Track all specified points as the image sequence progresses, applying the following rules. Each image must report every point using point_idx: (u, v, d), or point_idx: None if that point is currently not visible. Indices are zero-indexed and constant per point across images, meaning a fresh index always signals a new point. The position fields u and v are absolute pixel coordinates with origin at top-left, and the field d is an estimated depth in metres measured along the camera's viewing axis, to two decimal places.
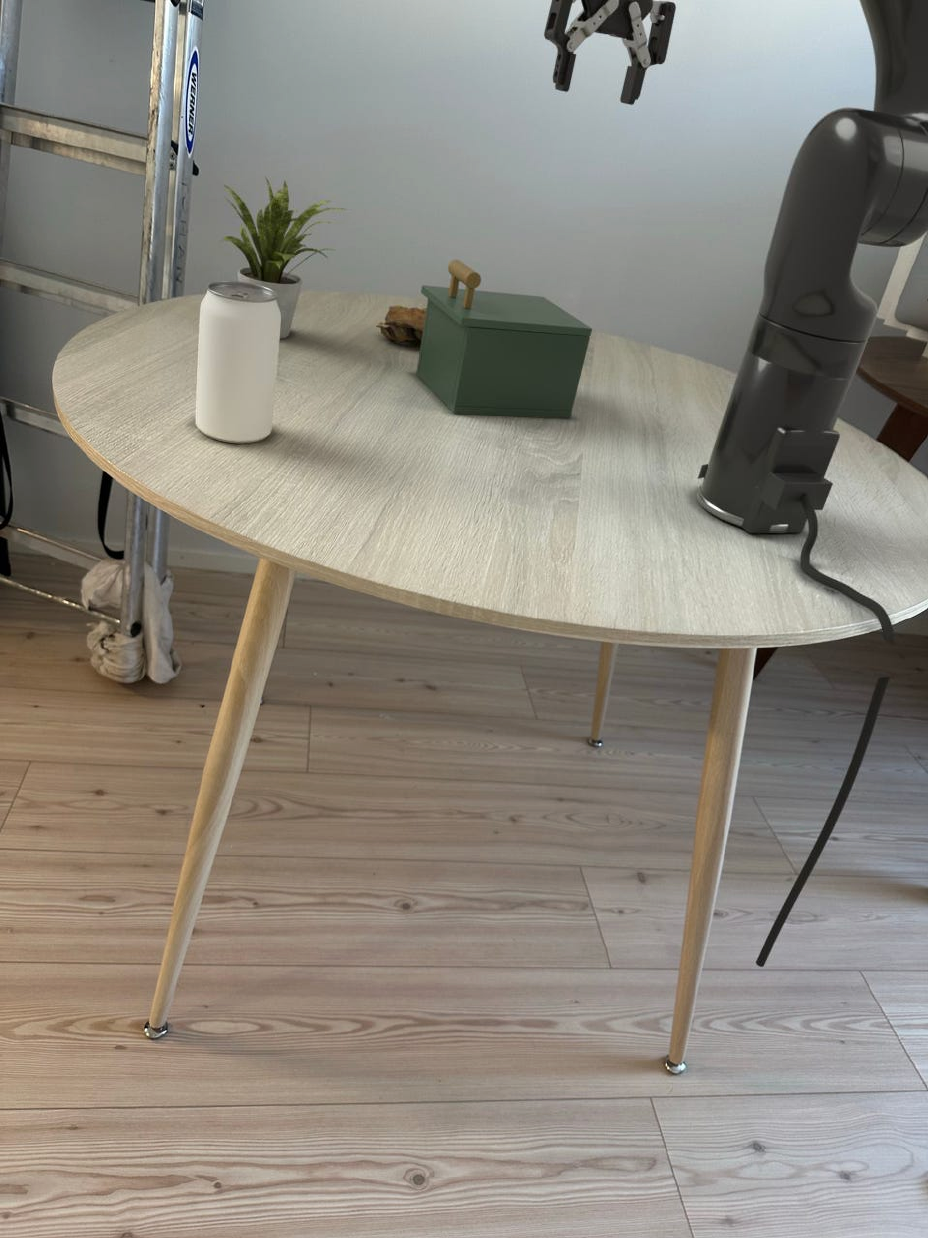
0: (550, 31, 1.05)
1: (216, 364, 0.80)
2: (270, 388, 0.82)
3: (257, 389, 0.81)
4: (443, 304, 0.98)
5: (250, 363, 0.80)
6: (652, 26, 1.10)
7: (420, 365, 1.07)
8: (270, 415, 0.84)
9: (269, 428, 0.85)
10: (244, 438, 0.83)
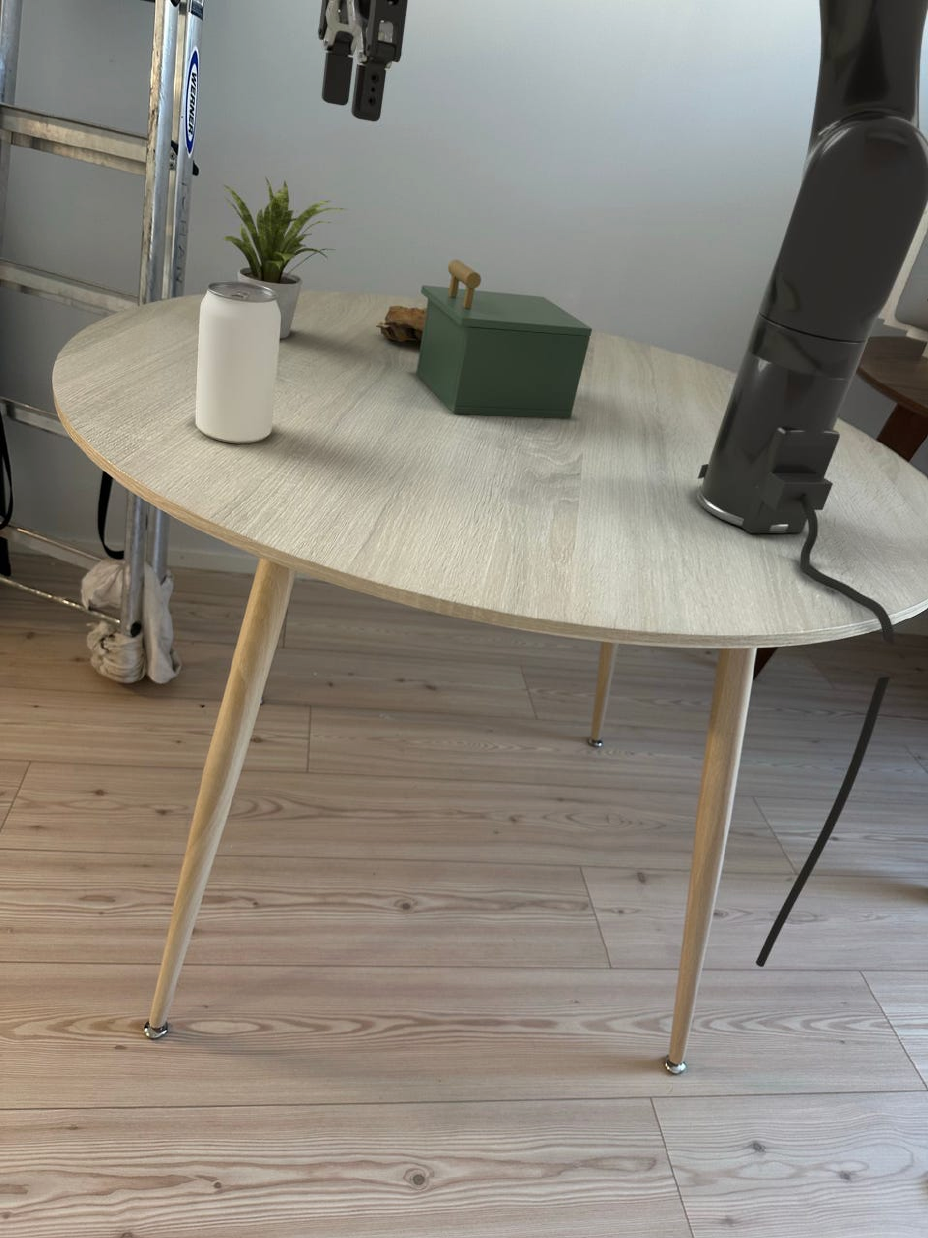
0: None
1: (216, 364, 0.80)
2: (270, 388, 0.82)
3: (257, 389, 0.81)
4: (443, 304, 0.98)
5: (250, 363, 0.80)
6: None
7: (420, 365, 1.07)
8: (270, 415, 0.84)
9: (269, 428, 0.85)
10: (244, 438, 0.83)
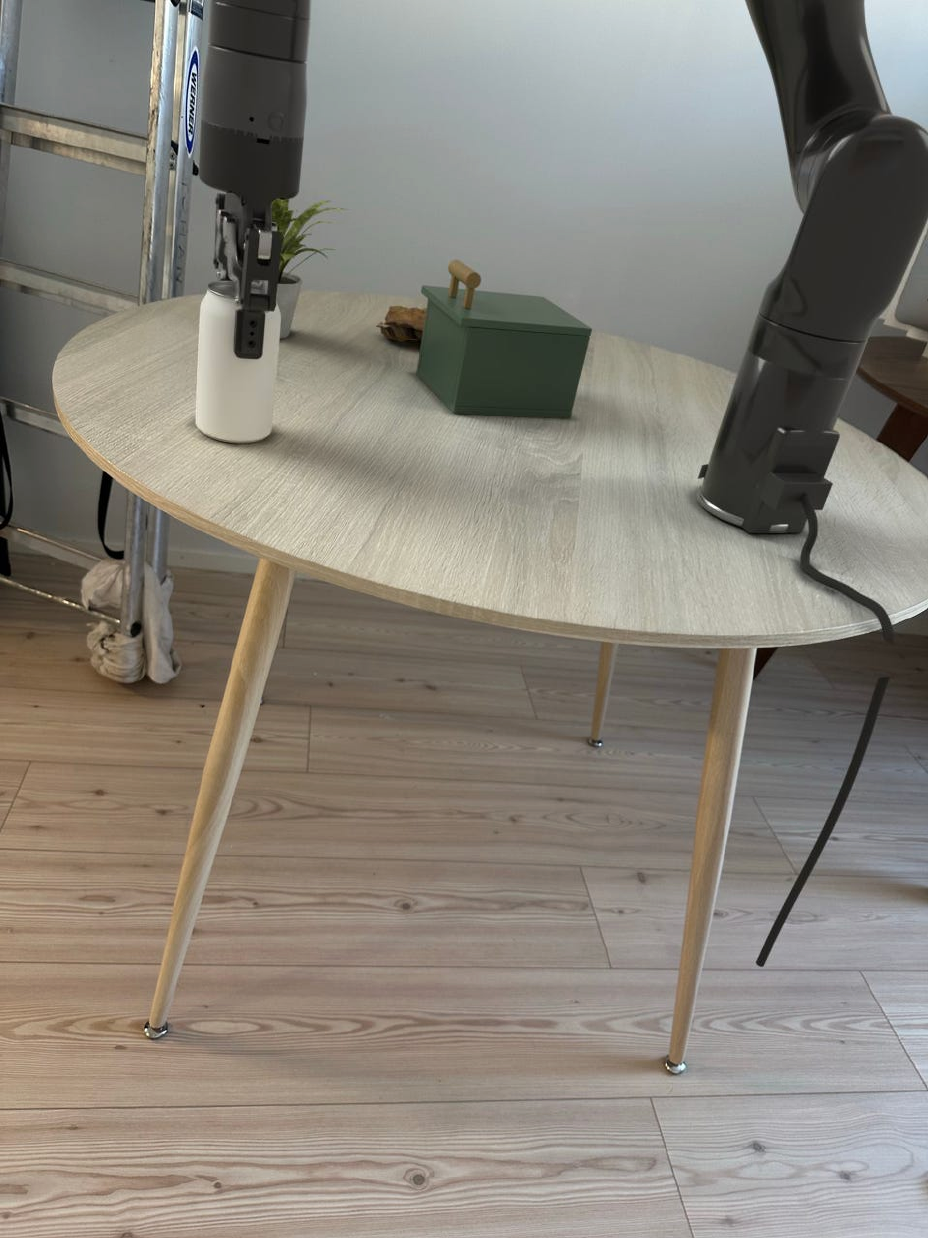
0: None
1: (216, 364, 0.80)
2: (270, 388, 0.82)
3: (257, 389, 0.81)
4: (443, 304, 0.98)
5: (250, 363, 0.80)
6: None
7: (420, 365, 1.07)
8: (270, 415, 0.84)
9: (269, 428, 0.85)
10: (244, 438, 0.83)
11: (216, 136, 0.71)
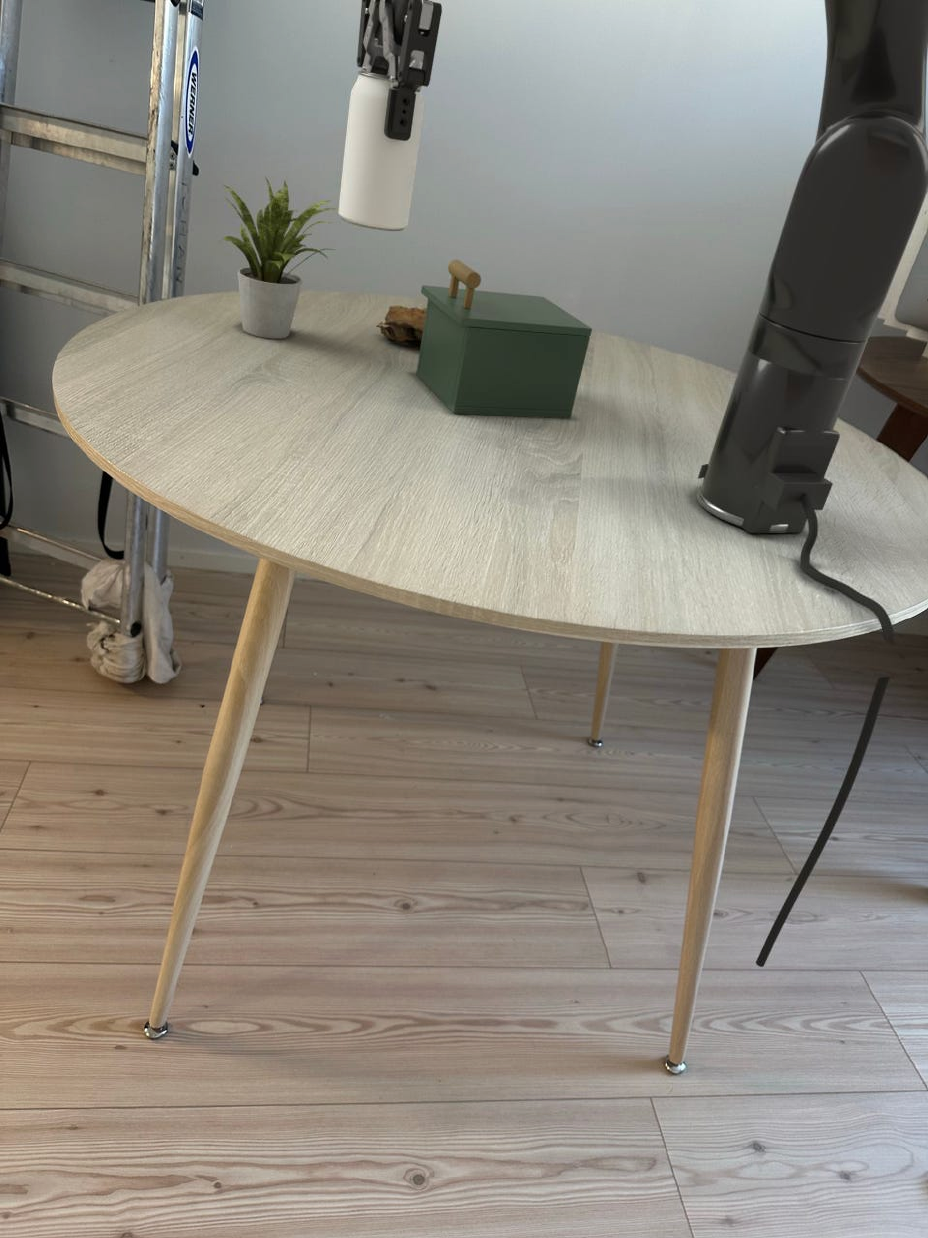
0: None
1: (366, 147, 0.85)
2: (412, 176, 0.88)
3: (401, 174, 0.87)
4: (443, 304, 0.98)
5: (397, 146, 0.85)
6: None
7: (420, 365, 1.07)
8: (409, 205, 0.90)
9: (407, 219, 0.90)
10: (387, 224, 0.89)
11: None
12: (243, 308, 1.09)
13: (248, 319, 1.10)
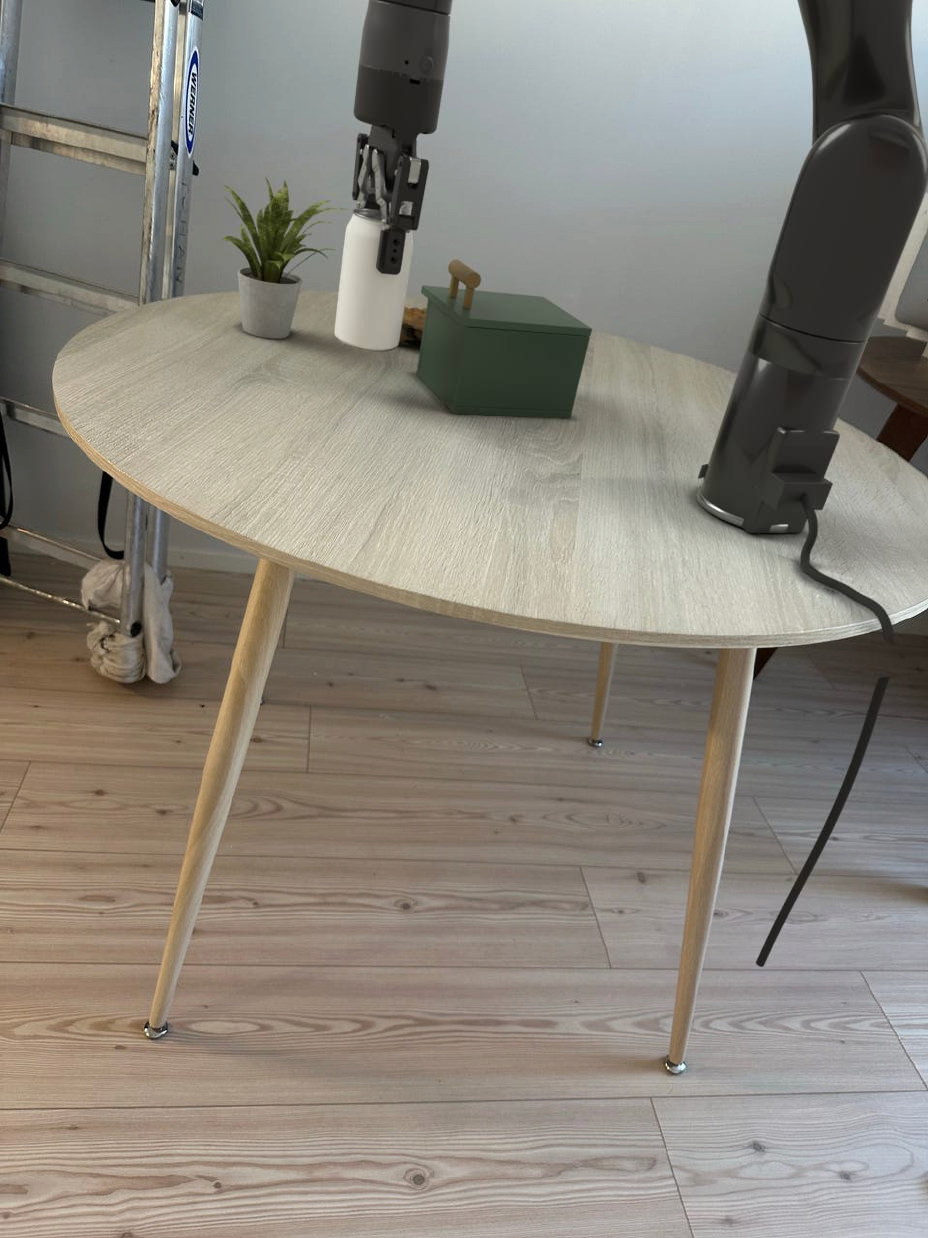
0: None
1: (359, 279, 0.92)
2: (402, 302, 0.95)
3: (392, 302, 0.94)
4: (443, 304, 0.98)
5: (389, 279, 0.92)
6: None
7: (420, 365, 1.07)
8: (400, 327, 0.97)
9: (398, 340, 0.98)
10: (379, 346, 0.96)
11: (375, 77, 0.84)
12: (243, 308, 1.09)
13: (248, 319, 1.10)
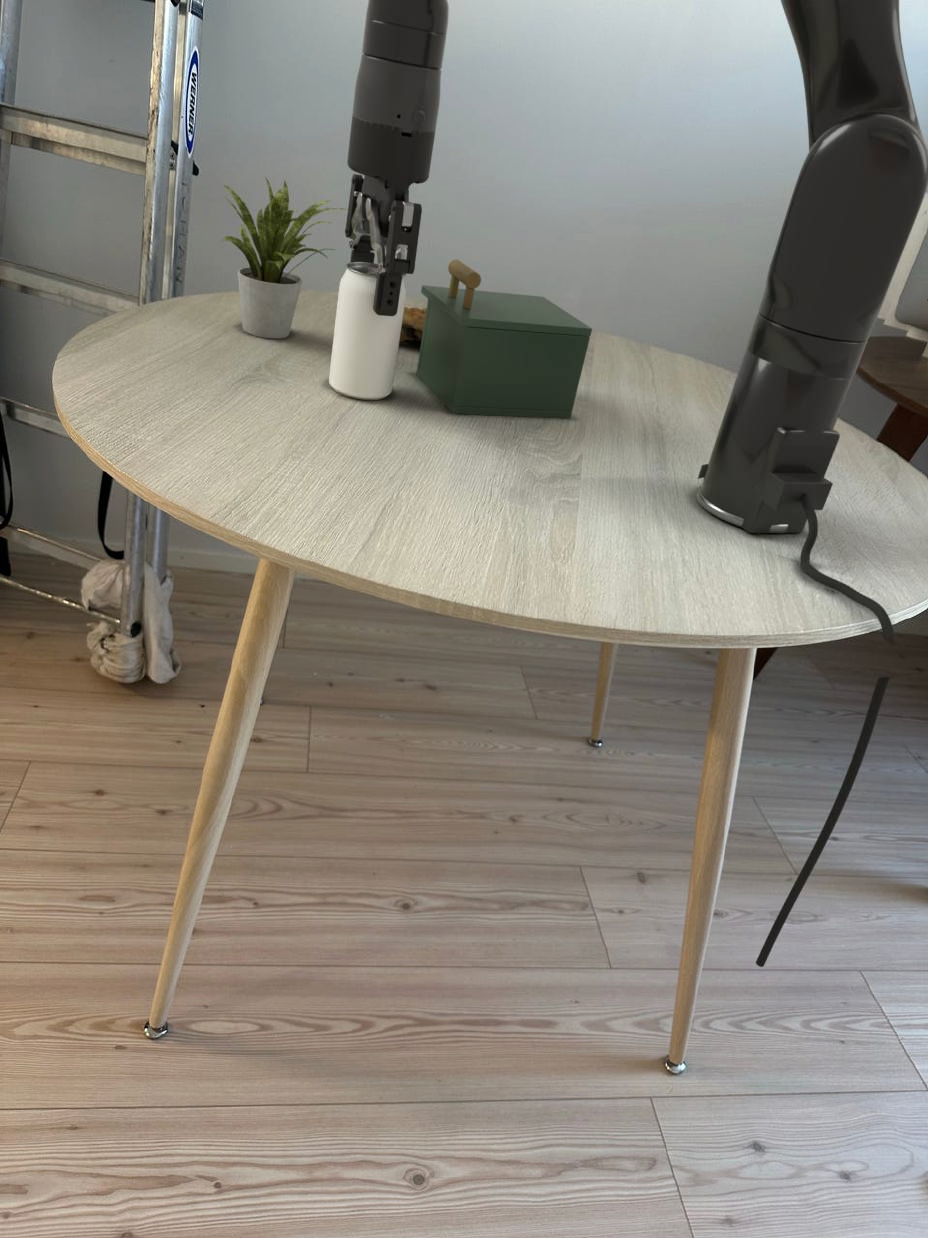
0: None
1: (353, 332, 0.95)
2: (395, 352, 0.98)
3: (385, 353, 0.96)
4: (443, 304, 0.98)
5: (381, 331, 0.95)
6: None
7: (420, 365, 1.07)
8: (393, 376, 0.99)
9: (391, 388, 1.00)
10: (372, 395, 0.98)
11: (367, 130, 0.86)
12: (243, 308, 1.09)
13: (248, 319, 1.10)
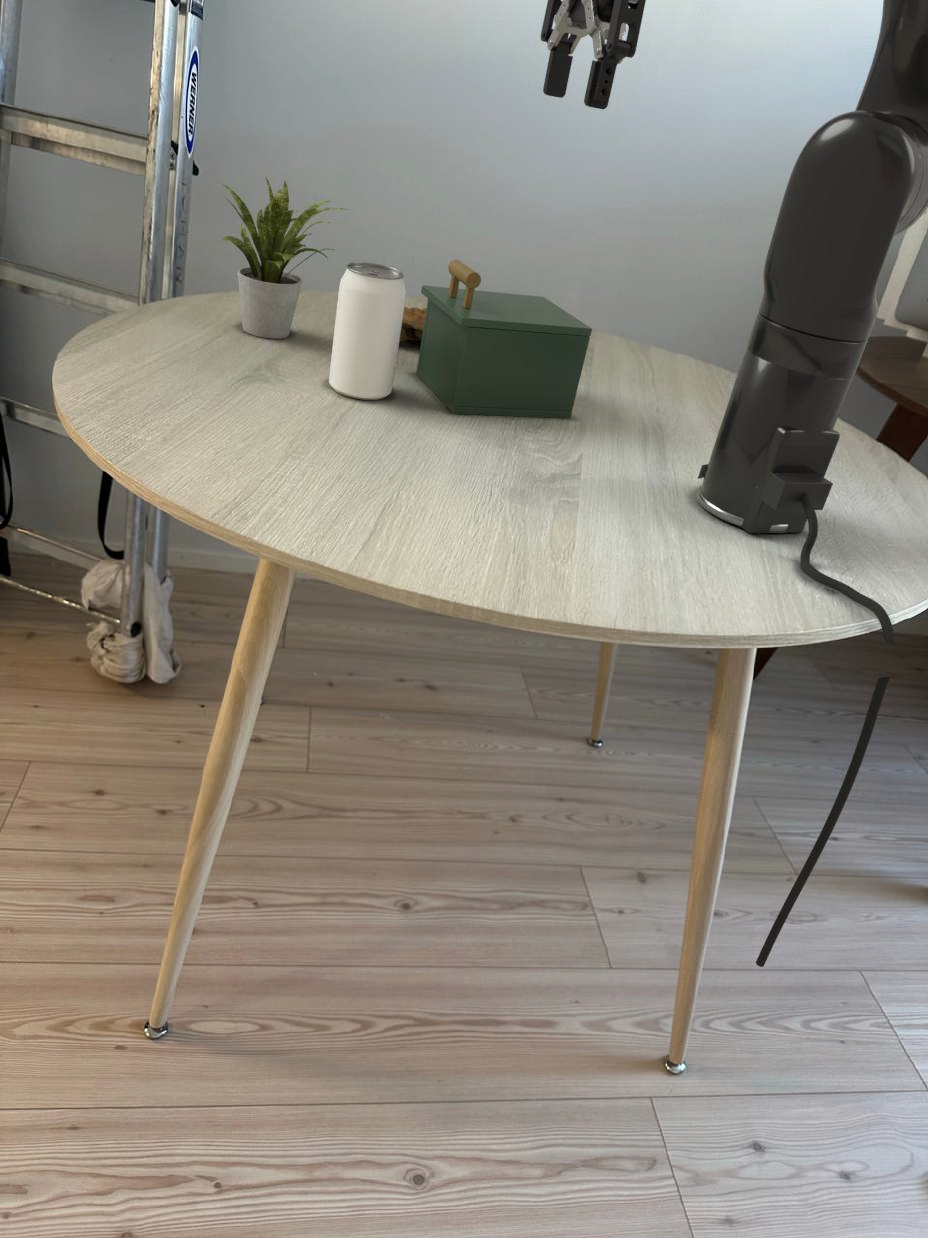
0: None
1: (353, 332, 0.95)
2: (395, 352, 0.98)
3: (385, 353, 0.96)
4: (443, 304, 0.98)
5: (381, 331, 0.95)
6: None
7: (420, 365, 1.07)
8: (393, 376, 0.99)
9: (391, 388, 1.00)
10: (372, 395, 0.98)
11: None
12: (243, 308, 1.09)
13: (248, 319, 1.10)
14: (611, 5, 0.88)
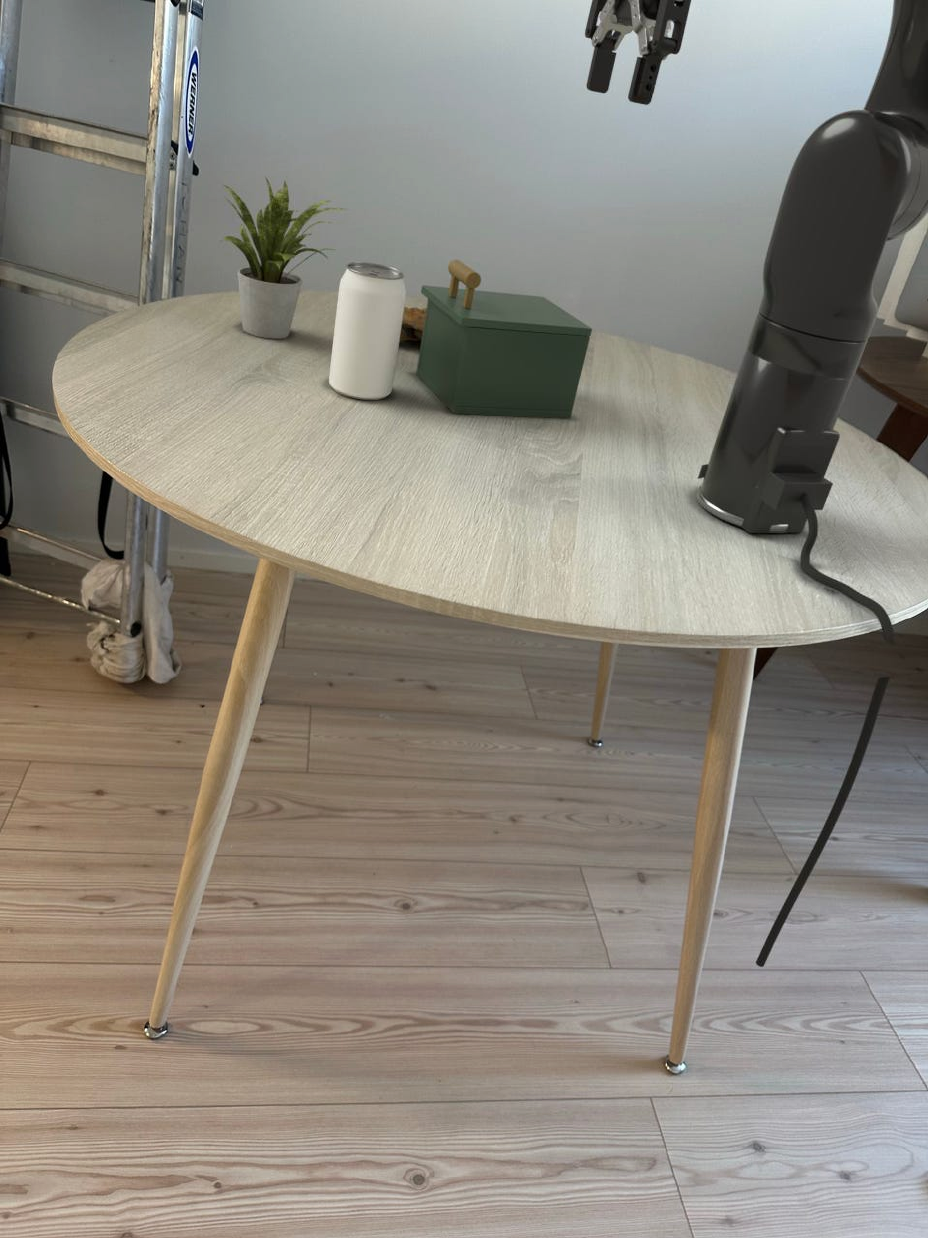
0: None
1: (353, 332, 0.95)
2: (395, 352, 0.98)
3: (385, 353, 0.96)
4: (443, 304, 0.98)
5: (381, 331, 0.95)
6: None
7: (420, 365, 1.07)
8: (393, 376, 0.99)
9: (391, 388, 1.00)
10: (372, 395, 0.98)
11: None
12: (243, 308, 1.09)
13: (248, 319, 1.10)
14: (657, 3, 0.90)
